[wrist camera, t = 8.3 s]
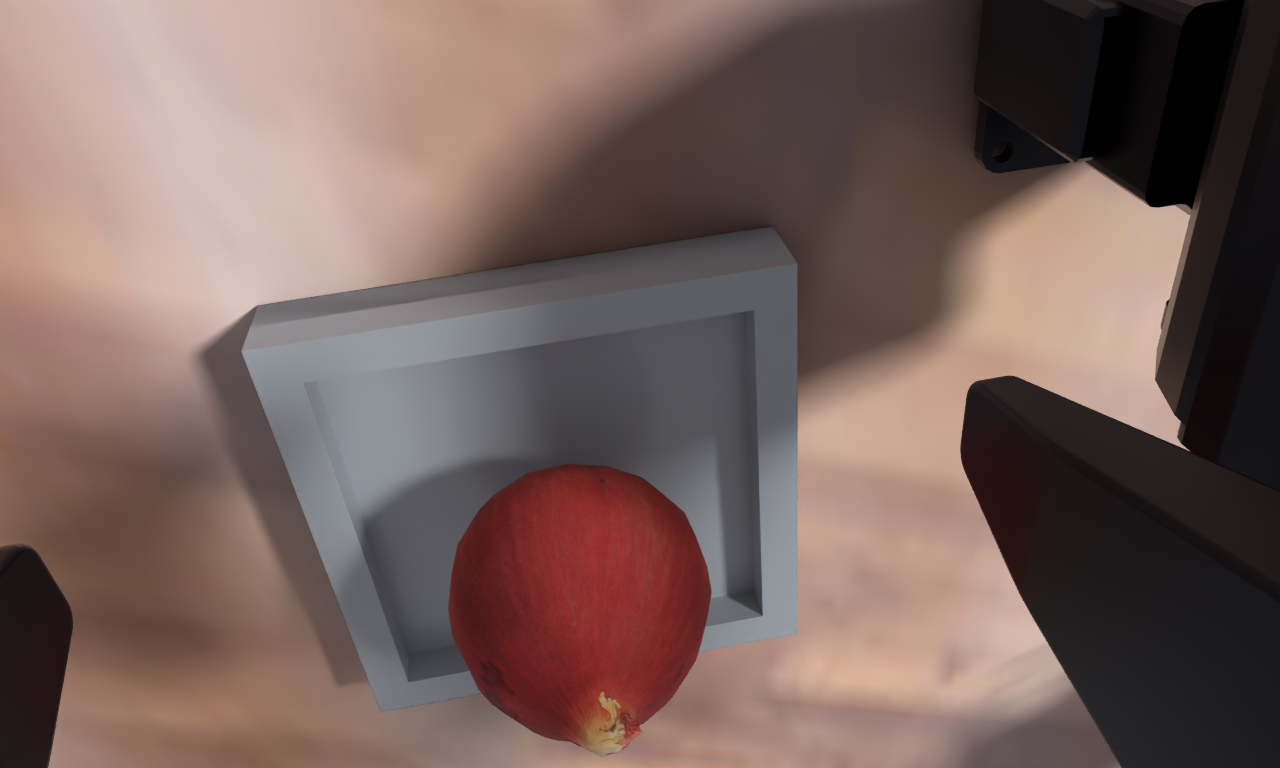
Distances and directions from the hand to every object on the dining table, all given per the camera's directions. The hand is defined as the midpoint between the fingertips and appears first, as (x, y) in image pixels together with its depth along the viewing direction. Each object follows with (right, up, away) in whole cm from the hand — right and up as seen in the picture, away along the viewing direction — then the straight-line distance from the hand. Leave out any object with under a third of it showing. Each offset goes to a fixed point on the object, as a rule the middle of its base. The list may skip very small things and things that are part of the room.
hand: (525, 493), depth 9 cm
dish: (-1, -1, +16) cm, 16 cm away
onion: (-1, -2, +16) cm, 16 cm away
